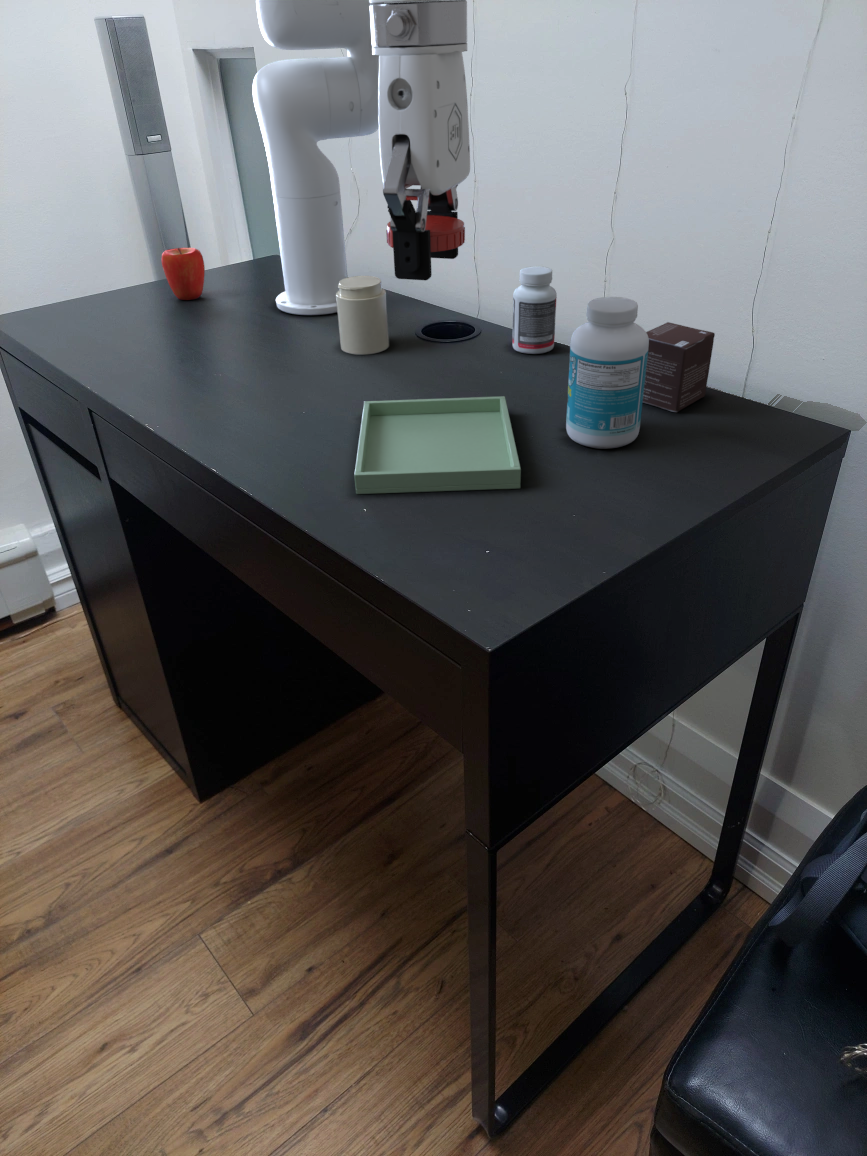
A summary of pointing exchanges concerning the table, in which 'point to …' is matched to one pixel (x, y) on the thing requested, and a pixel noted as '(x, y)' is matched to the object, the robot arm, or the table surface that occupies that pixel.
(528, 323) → the pill bottle
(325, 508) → the table surface
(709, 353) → the box
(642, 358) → the pill bottle
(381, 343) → the jar
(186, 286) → the apple
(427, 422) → the tray
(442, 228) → the cap
